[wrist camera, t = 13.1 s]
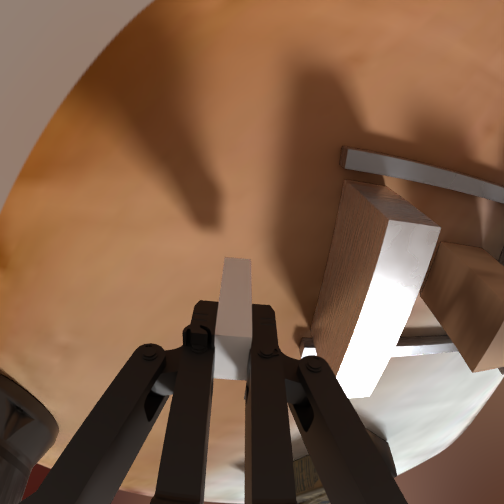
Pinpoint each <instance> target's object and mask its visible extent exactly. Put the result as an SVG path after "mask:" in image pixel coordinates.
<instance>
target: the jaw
mask: <svg viewBox="0 0 504 504" xmlns="http://www.w3.org/2000/svg"><path fill="white" fill-rule="evenodd" d="M440 230H441V227H440V226H439V225H437V224H436V223H435V222H434V221H432V220H431V219H430V218H429V217H427V216H426V215H425V214H423V213H422V212H421V211H419V210H418V209H417V208H415V207H414V206H413V205H411V204H410V203H409V202H407V201H406V200H405V199H403V198H402V197H401V196H399V195H398V194H396V193H395V192H394V191H392V190H391V189H389V188H388V187H387V186H383V185H377V184H371V183H365V182H359V181H352V180H346V179H344V183H343V189H342V194H341V199H340V204H339V209H338V214H337V219H336V224H335V229H334V234H333V238H332V243H331V247H330V252H329V256H328V261H327V265H326V269H325V273H324V278H323V282H322V286H321V290H320V294H319V298H318V302H317V306H316V310H315V314H314V317H313V321H312V325H311V329H310V331H311V335H312V339H313V343H314V347H315V351H316V355H317V356H319V357H321V358H323V359H325V360H326V361H327V363H328V364H329V366H330V367H331V369H332V371H333V373H334V374H335V376H336V378H337V379H338V381H339V383H340V385H341V386H342V388H343V390H344V392H345V393H346V395H347V397H348V398H354V397H368V396H370V394H371V392H372V391H373V389H374V387H375V385H376V383H377V381H378V379H379V378H380V376H381V374H382V372H383V370H384V368H385V366H386V364H387V362H388V360H389V358H390V356H391V354H392V352H393V350H394V348H395V346H396V344H397V341H398V339H399V337H400V335H401V333H402V330H403V328H404V326H405V324H406V321H407V319H408V317H409V315H410V312H411V310H412V307H413V305H414V303H415V300H416V298H417V295H418V293H419V290H420V287H421V285H422V282H423V280H424V277H425V274H426V271H427V269H428V266H429V263H430V260H431V257H432V254H433V251H434V248H435V245H436V242H437V239H438V236H439V233H440Z"/></svg>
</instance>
